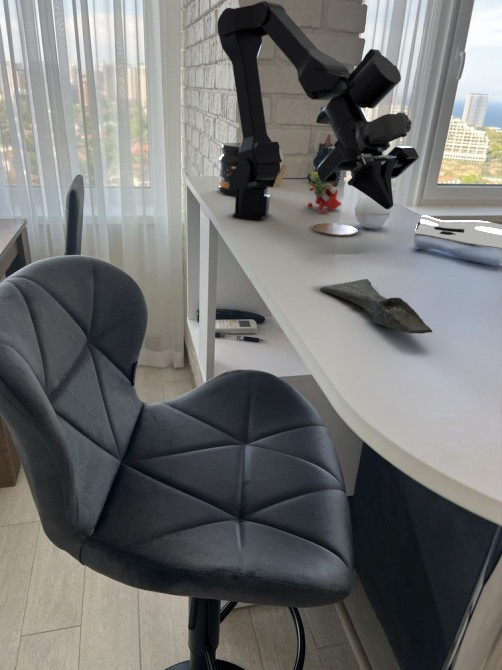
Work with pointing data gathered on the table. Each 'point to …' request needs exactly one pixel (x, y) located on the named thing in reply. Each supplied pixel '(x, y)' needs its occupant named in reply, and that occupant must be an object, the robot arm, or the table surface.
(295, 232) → the table surface
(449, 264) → the table surface
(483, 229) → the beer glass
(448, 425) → the table surface
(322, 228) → the coaster
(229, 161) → the supplement container
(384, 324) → the tool
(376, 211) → the white sphere
